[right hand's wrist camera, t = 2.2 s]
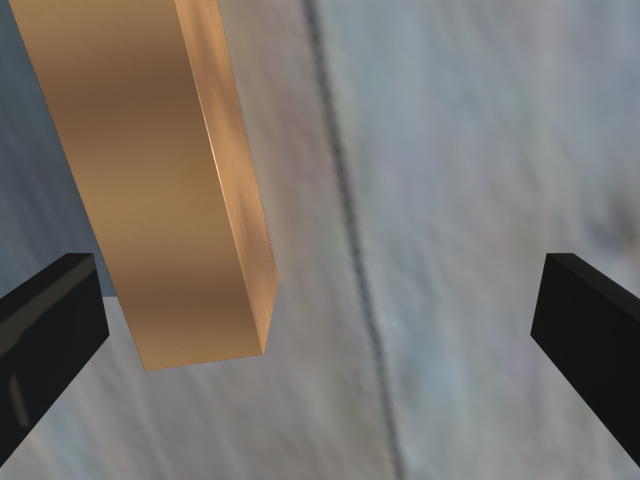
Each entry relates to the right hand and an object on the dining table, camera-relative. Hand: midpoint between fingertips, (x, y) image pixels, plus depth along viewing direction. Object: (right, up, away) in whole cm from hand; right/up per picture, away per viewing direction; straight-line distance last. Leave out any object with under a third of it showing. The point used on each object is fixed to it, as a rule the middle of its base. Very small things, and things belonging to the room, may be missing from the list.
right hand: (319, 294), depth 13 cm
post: (-10, +26, +5) cm, 28 cm away
